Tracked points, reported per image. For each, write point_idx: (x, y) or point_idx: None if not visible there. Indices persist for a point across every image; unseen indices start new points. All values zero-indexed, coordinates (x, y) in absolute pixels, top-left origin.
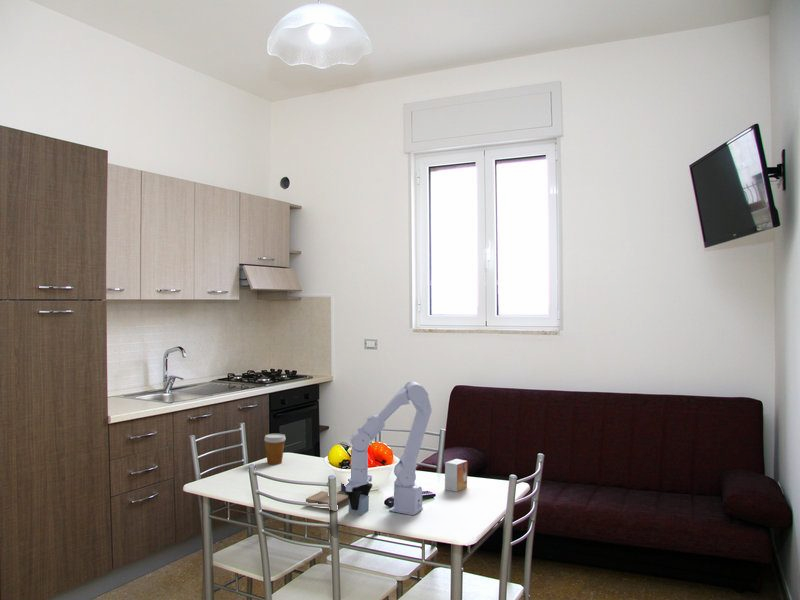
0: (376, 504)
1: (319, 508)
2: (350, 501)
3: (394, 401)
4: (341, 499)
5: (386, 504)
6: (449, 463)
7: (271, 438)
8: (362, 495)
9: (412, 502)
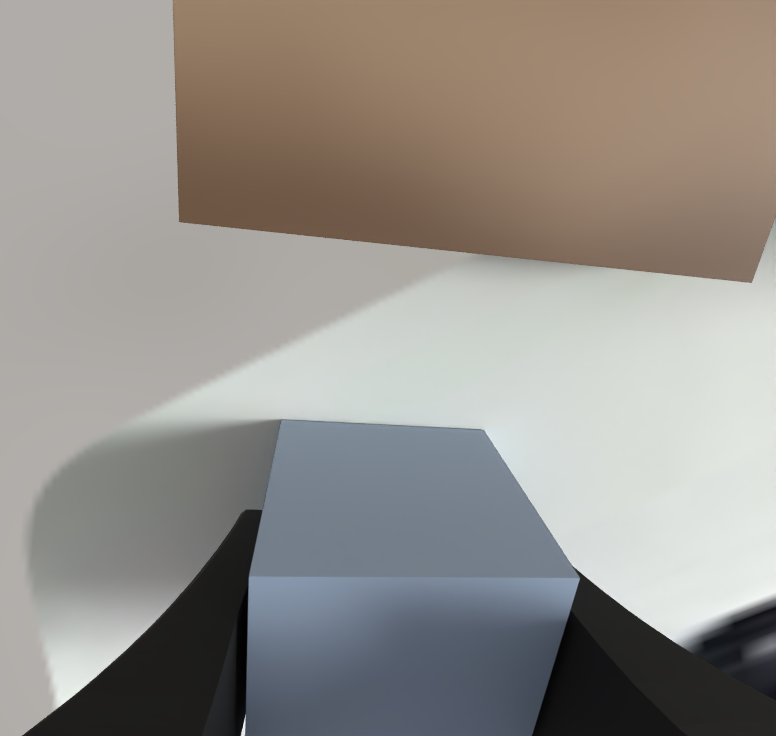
0: (675, 570)
1: None
2: (186, 604)
3: None
4: (515, 214)
5: (693, 646)
6: None
7: None
8: (505, 709)
9: None
